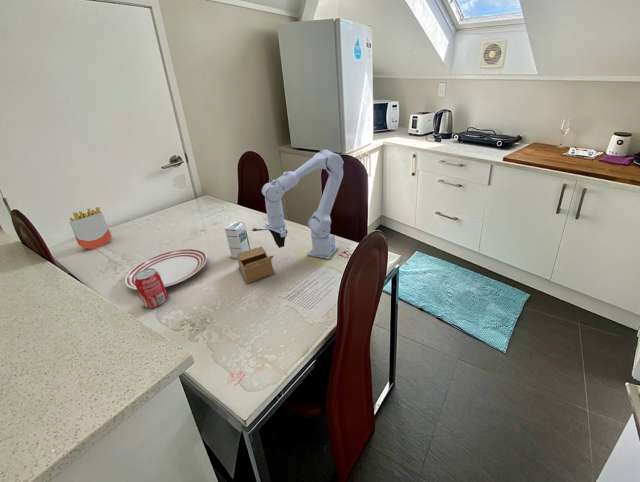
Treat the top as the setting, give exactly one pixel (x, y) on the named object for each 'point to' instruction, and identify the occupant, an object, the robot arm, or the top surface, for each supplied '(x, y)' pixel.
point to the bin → (255, 271)
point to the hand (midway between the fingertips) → (280, 245)
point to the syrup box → (237, 238)
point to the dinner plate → (171, 266)
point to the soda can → (150, 287)
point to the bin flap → (258, 262)
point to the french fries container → (90, 229)
